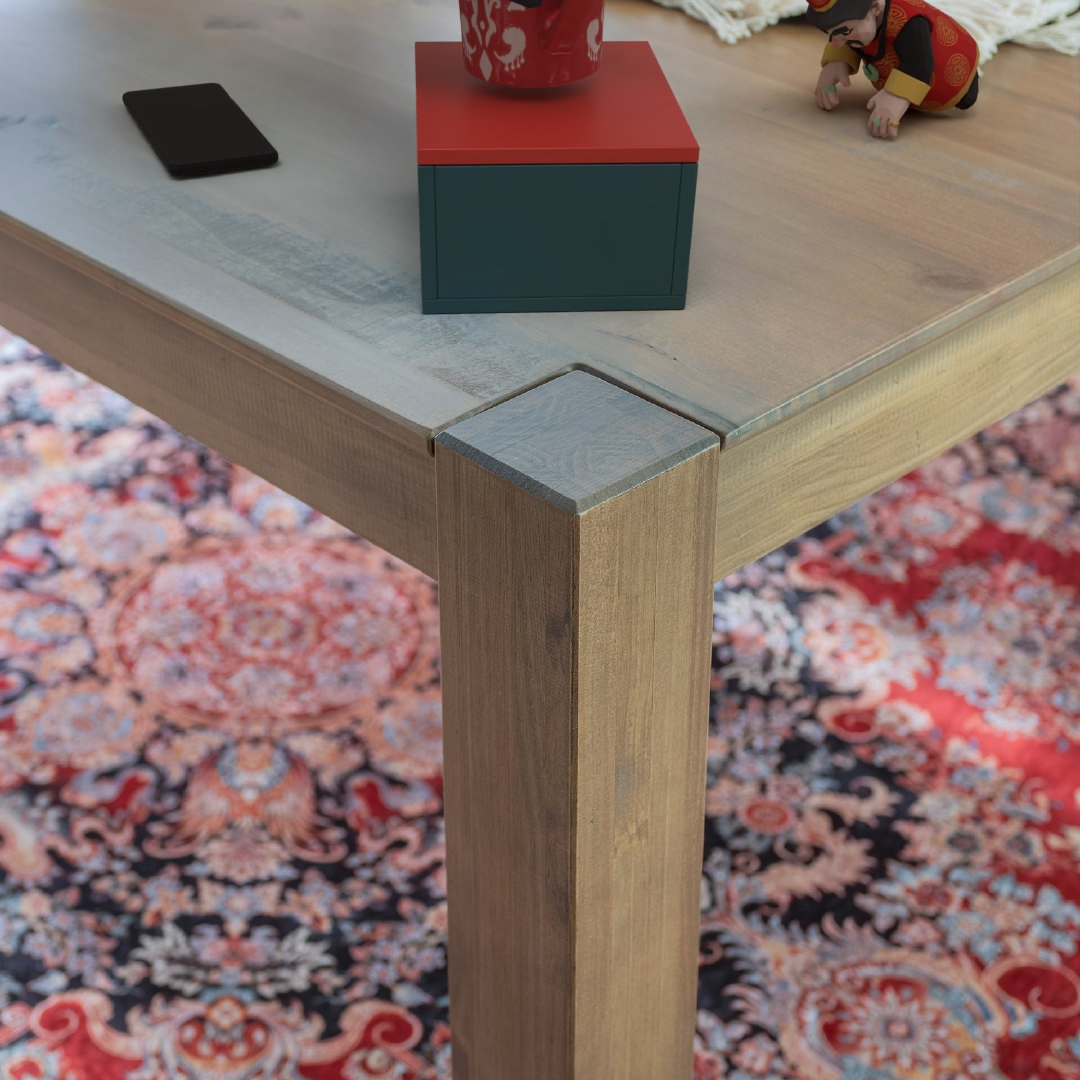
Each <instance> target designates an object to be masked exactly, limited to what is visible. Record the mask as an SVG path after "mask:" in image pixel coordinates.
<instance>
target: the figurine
mask: <svg viewBox="0 0 1080 1080" xmlns="http://www.w3.org/2000/svg"><path fill="white" fill-rule="evenodd" d="M805 2H806V3H807V4H808V5H807V7H806V8H807V9H806V11H805V18H806V20H807V21H808V23H810V24H811V25H813V26H815V27H816V28H817V29H819V30H820V31H821V32H823V33H824V34H826V35H829V37H828V42H827V43H826V44H825V46H824V49H823V54H822V56H821V60H820V66H821V68H822V69H821V71H820V72H819V76H818V79H817V82H816V86H815V89H814V96H815V99H816V103H817V105H819V106H820V108H821V109H826V110H827V111H830V110H831V109H834V108H836V105H838V104H839V103H840V100H839V97H838V94H837V92H838V90H837V89H838V88H837V84H839V83H840V86H841V87H843V88H844V89H845V88H850V86H851V80H850V76H854V75H857V74H858V73H859V71H860V66H861V62H862V64H863V65H862V66H861V67H862V71H863V75H864V76H865V77H866V78H867V79H868V80H869V81H870V83H871V85H872V86H873V88H874V89H875V90H876V91H877V93H876V94H874V96H872V97H871V99H869V100H868V102H867V104H866V109H868V110H870V111H872V112H871V113H870V116H869V117H868V118H869V119H868V121H867V125H866V126H867V127H866V128H867V130H869V131H872V132H871V135H872V137H876V138H878V137H881V138H883V139H884V138H887V137H890V138H892V139H893V138H895V137H896V136H897V135H898V128H899V126H900V122H899V121H900V120H901V118H902V117H903V115H904V114H905V112H907V110H908V108H909V109H913V110H920V111H927V112H944V111H946V110H949V109H952V108H953V107H954V108H956V109H959V110H960V111H966V110H968V109H970V108H971V107H973V106H974V105H975V104H976V102H977V101H978V100H977V99H978V95H979V92H980V91H979V89H980V87H979V80H980V75H979V69H978V67H979V62H980V55H981V52H980V48H979V44H978V42H977V41H976V39H975V38H974V37H973V36H972V35H971V34H970V32H969V31H968V30H967V29H966V28H965V27H963V26H962V25H961V23H959V22H958V21H956V19H955V18H953V17H952V16H951V15H949V14H948V13H945V12H944V11H942V10H941V9H939V8H937V7H936V6H934V5H932V4H930V3H929V2H927V1H925V0H805Z"/></svg>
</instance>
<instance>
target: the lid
mask: <svg viewBox="0 0 1080 1080" xmlns="http://www.w3.org/2000/svg"><path fill="white" fill-rule="evenodd" d="M414 68H415V69H414V71H415V75H414V76H415V79H414V80H415V122H416V123H415V124H416V125H415V126H416V127H415V128H416V163H418V164H419V165H442V164H552V163H662V162H697V163H698V162H699V159H700V149H701V147H700V145H699V143H698V141H697V139H696V137H695V134H694V132H693V130H692V128H691V126H690V124H689V122H688V120H687V119H686V116H685V115H684V112H683V110H682V108H681V106H680V104H679V101H678V100H677V98H676V96H675V93H674V92H673V90H672V88H671V85H670V84H669V82H668V80H667V77H666V75H665V73H664V71H663V69H662V67H661V65H660V62H659V61H658V58H657V56H656V55H655V53H654V50H653V48H652V47H651V45H650V42H649V41H648V40H602V52H601V62H600V66H599V68H598V70H597V71H596V72H595V73H594V74H592V75H591V76H589V77H587V78H585V79H583V80H580V81H577V82H573V83H569V84H565V85H559V86H552V87H539V88H522V87H510V86H504V85H497V84H493V83H490V82H486V81H484V80H481V79H478V78H476V77H474V76H473V75H471V74H470V73H469V72H468V71H467V69H466V68H465V65H464V60H463V49H462V40H460V41H458V40H457V41H451V40H450V41H449V40H447V41H445V40H443V41H414Z"/></svg>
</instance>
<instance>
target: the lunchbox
mask: <svg viewBox="0 0 1080 1080" xmlns="http://www.w3.org/2000/svg"><path fill="white" fill-rule="evenodd" d="M416 163H417V162H416ZM416 165H417V166H416V167H417V194H418V225H419V227H418V228H419V254H420V255H419V256H420V286H421V287H420V288H421V289H420V291H421V313H422V314H471V313H472V314H473V313H475V314H477V313H481V314H483V313H531V312H533V313H535V312H537V313H539V312H588V311H589V312H590V311H591V312H592V311H593V312H595V311H645V310H646V311H647V310H648V311H650V310H652V311H653V310H685V309H686V302H687V292H688V291H687V290H688V281H689V271H690V270H689V268H690V260H691V251H692V250H691V248H692V238H693V237H692V236H693V226H694V215H695V205H696V194H697V182H698V174H699V173H698V172H699V163H698V162H662V163H552V164H442V165H419V164H418V163H417V164H416Z"/></svg>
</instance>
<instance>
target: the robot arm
mask: <svg viewBox="0 0 1080 1080" xmlns="http://www.w3.org/2000/svg"><path fill="white" fill-rule="evenodd" d="M509 1H511V2H514V3H517V4H519V5H522V6H524V7H527V8H534V7H539V6H542V0H509Z"/></svg>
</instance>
